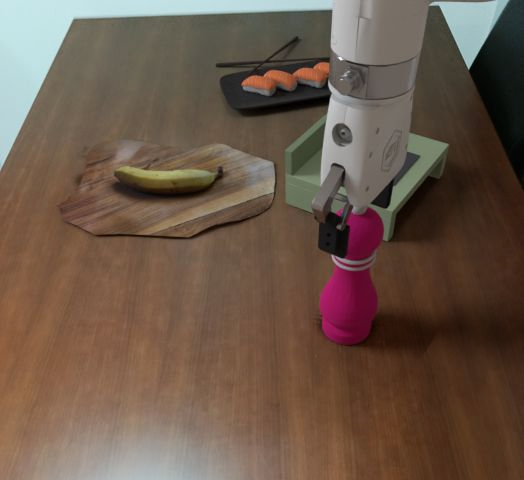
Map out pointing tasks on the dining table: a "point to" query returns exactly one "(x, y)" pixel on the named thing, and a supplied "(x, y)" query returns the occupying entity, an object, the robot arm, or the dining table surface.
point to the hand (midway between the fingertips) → (354, 227)
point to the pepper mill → (353, 281)
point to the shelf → (309, 182)
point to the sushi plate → (276, 82)
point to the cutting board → (167, 189)
